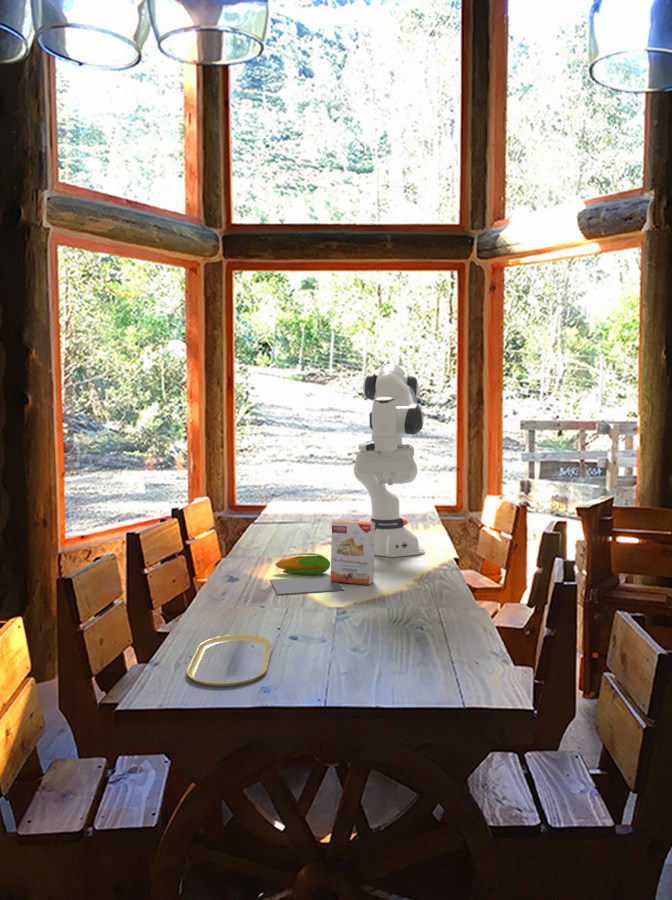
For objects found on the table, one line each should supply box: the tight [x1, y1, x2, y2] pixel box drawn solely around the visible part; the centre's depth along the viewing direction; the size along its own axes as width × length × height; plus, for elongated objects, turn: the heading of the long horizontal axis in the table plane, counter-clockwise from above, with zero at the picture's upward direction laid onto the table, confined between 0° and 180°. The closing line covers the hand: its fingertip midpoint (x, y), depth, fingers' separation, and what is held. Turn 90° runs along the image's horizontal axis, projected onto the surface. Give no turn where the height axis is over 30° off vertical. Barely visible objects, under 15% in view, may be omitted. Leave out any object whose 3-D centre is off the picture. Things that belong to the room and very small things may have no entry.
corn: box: [275, 552, 331, 576], centre depth 287 cm, size 7×8×20 cm
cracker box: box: [330, 519, 375, 586], centre depth 272 cm, size 14×6×21 cm, turn 71°
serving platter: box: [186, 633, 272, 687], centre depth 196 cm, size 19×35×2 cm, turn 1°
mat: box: [269, 575, 345, 596], centre depth 270 cm, size 22×20×1 cm
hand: (385, 485), depth 273 cm, fingers open, 2 cm apart
